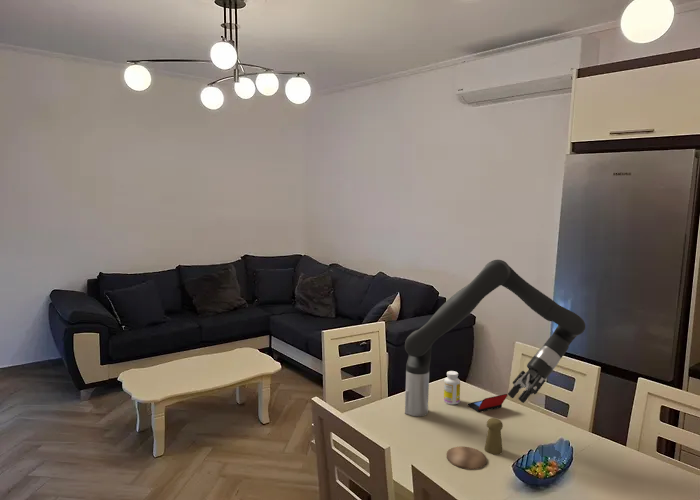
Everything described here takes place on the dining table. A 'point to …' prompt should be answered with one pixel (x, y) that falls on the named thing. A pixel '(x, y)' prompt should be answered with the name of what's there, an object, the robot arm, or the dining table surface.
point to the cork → (494, 437)
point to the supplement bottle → (452, 388)
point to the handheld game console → (488, 403)
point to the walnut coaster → (466, 457)
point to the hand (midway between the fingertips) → (515, 398)
